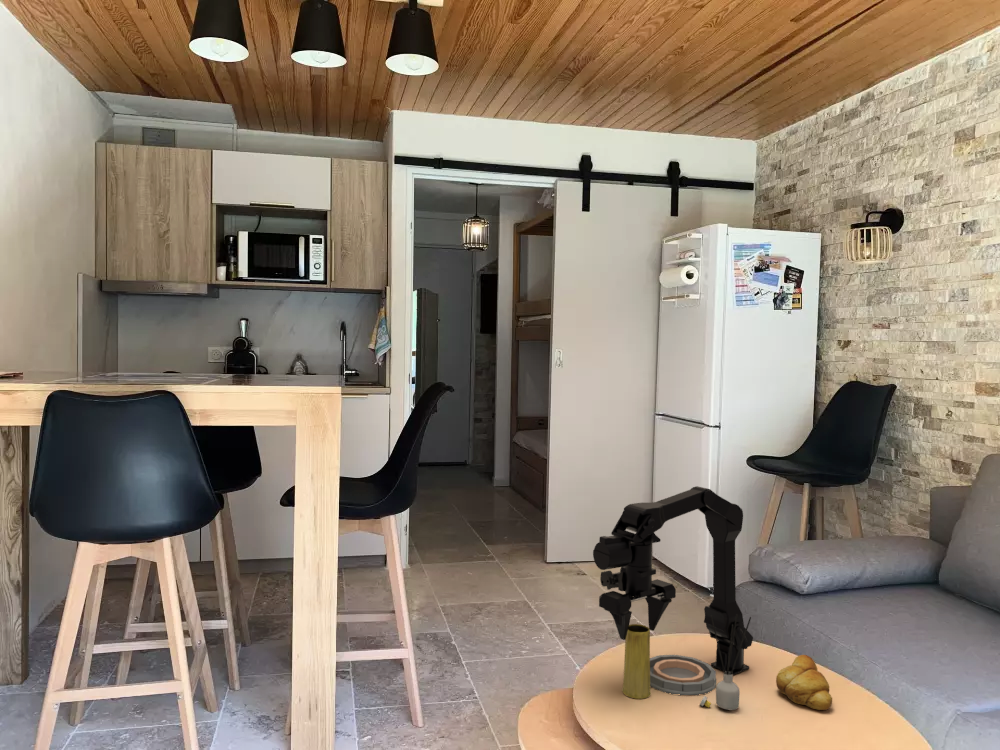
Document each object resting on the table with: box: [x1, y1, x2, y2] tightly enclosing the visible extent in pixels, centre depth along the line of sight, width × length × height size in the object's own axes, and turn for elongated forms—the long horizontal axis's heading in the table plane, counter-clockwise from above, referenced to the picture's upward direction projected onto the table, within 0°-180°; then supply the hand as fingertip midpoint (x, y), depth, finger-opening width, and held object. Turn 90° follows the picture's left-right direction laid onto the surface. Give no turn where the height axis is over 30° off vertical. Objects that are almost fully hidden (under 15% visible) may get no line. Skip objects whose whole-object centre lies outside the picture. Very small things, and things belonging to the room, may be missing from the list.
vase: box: [621, 623, 652, 700], centre depth 161 cm, size 6×6×14 cm
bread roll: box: [775, 654, 833, 711], centre depth 159 cm, size 13×10×8 cm
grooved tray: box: [650, 654, 717, 696], centre depth 169 cm, size 16×16×2 cm
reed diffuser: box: [699, 614, 752, 711], centre depth 154 cm, size 10×7×20 cm
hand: (637, 634), depth 161 cm, fingers open, 9 cm apart
